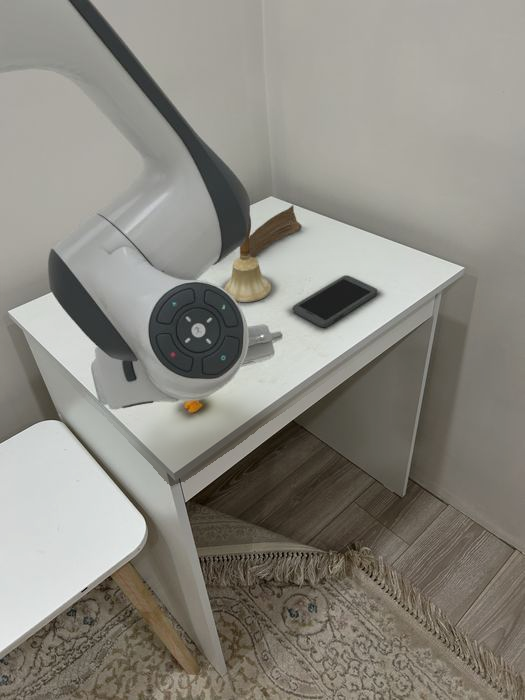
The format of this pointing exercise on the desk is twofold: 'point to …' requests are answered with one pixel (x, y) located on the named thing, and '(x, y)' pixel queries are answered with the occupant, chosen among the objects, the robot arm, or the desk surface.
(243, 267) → the hand bell
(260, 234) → the wood plank
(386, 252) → the desk surface
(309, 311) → the cell phone
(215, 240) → the robot arm
